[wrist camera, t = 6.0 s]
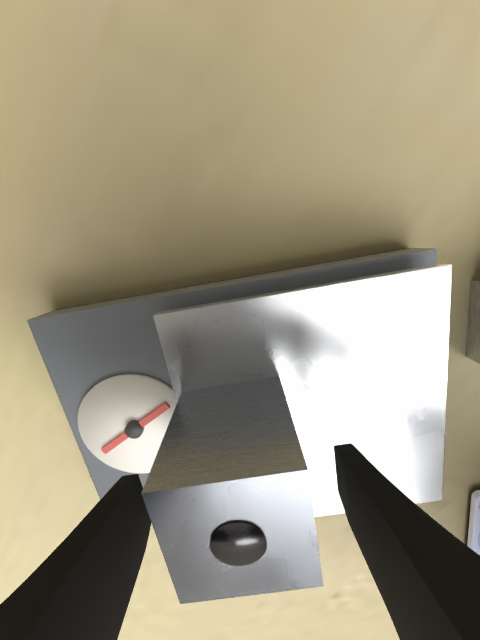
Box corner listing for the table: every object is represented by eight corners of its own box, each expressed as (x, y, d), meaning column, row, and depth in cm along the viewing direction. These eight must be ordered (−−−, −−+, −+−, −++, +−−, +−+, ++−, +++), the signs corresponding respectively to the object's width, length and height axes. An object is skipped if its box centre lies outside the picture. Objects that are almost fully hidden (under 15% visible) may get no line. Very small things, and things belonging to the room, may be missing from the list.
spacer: (291, 457, 13) (323, 589, 8) (202, 470, 13) (179, 606, 8) (279, 376, 12) (308, 472, 7) (181, 392, 12) (140, 495, 7)
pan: (410, 460, 16) (441, 500, 13) (216, 487, 16) (211, 530, 14) (410, 260, 13) (451, 264, 10) (169, 302, 13) (153, 315, 11)
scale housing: (408, 453, 17) (436, 488, 15) (124, 494, 18) (106, 532, 15) (408, 248, 14) (445, 248, 11) (55, 310, 14) (18, 323, 12)
